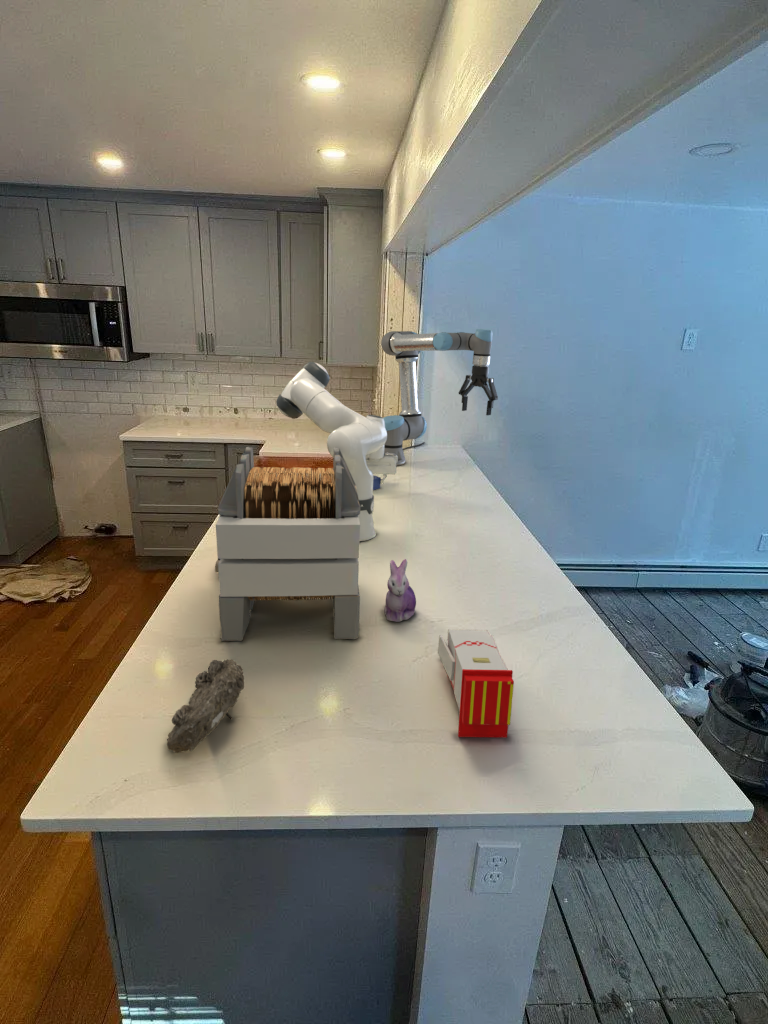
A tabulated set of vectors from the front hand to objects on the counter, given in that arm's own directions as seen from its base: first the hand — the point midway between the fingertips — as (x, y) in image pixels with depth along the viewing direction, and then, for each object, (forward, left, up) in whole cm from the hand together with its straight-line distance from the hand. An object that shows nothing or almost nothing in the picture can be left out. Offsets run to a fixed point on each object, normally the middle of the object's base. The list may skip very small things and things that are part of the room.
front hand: (372, 483), depth 249 cm
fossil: (+14, -152, -2) cm, 152 cm away
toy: (+60, -128, -2) cm, 141 cm away
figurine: (+38, -102, -2) cm, 109 cm away
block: (0, 0, -2) cm, 2 cm away
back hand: (+38, +35, +29) cm, 59 cm away
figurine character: (-15, -94, -2) cm, 95 cm away
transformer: (+11, -108, -2) cm, 108 cm away
